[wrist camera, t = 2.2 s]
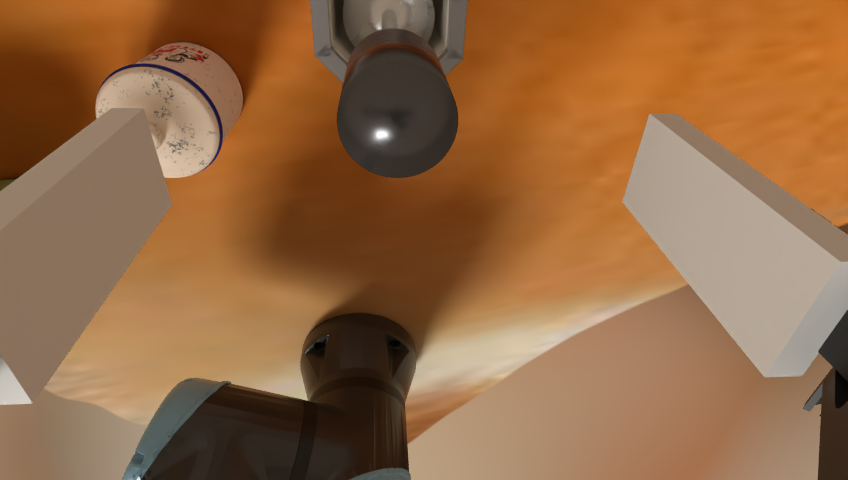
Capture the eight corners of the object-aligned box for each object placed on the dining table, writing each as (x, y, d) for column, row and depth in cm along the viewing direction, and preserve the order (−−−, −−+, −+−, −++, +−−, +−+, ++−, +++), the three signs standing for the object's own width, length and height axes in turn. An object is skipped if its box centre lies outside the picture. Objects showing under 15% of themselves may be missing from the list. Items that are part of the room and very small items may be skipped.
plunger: (431, 62, 34) (478, 201, 18) (346, 60, 34) (314, 202, 17) (435, -35, 31) (498, 28, 15) (340, -38, 31) (295, 23, 14)
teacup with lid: (214, 24, 42) (165, 58, 32) (263, 121, 47) (233, 176, 37) (90, 66, 43) (6, 112, 33) (151, 157, 48) (94, 219, 38)
